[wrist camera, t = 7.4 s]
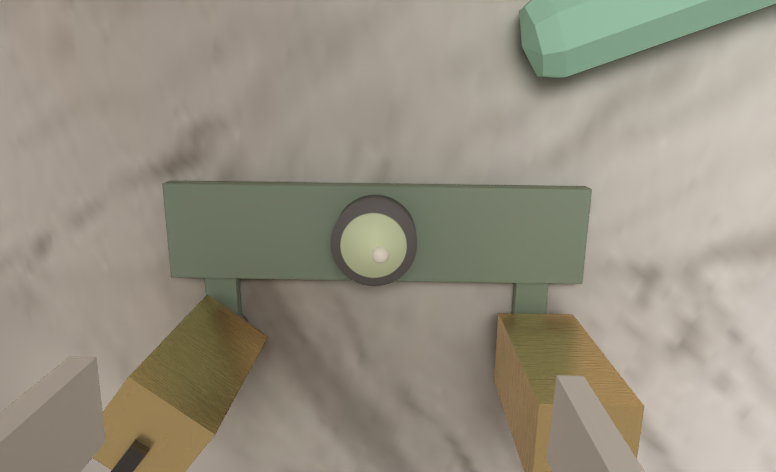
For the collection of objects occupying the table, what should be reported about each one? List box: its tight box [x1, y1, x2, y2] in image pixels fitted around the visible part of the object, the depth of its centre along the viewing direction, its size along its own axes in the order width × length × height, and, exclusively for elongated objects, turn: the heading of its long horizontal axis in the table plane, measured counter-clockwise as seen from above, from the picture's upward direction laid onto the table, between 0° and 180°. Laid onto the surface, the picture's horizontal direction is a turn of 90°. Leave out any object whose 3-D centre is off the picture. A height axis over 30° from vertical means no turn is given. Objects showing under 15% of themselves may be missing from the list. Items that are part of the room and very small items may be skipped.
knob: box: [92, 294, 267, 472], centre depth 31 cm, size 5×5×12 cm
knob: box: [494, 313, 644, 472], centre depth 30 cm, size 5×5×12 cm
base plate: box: [163, 181, 592, 323], centre depth 34 cm, size 12×26×4 cm, turn 89°
